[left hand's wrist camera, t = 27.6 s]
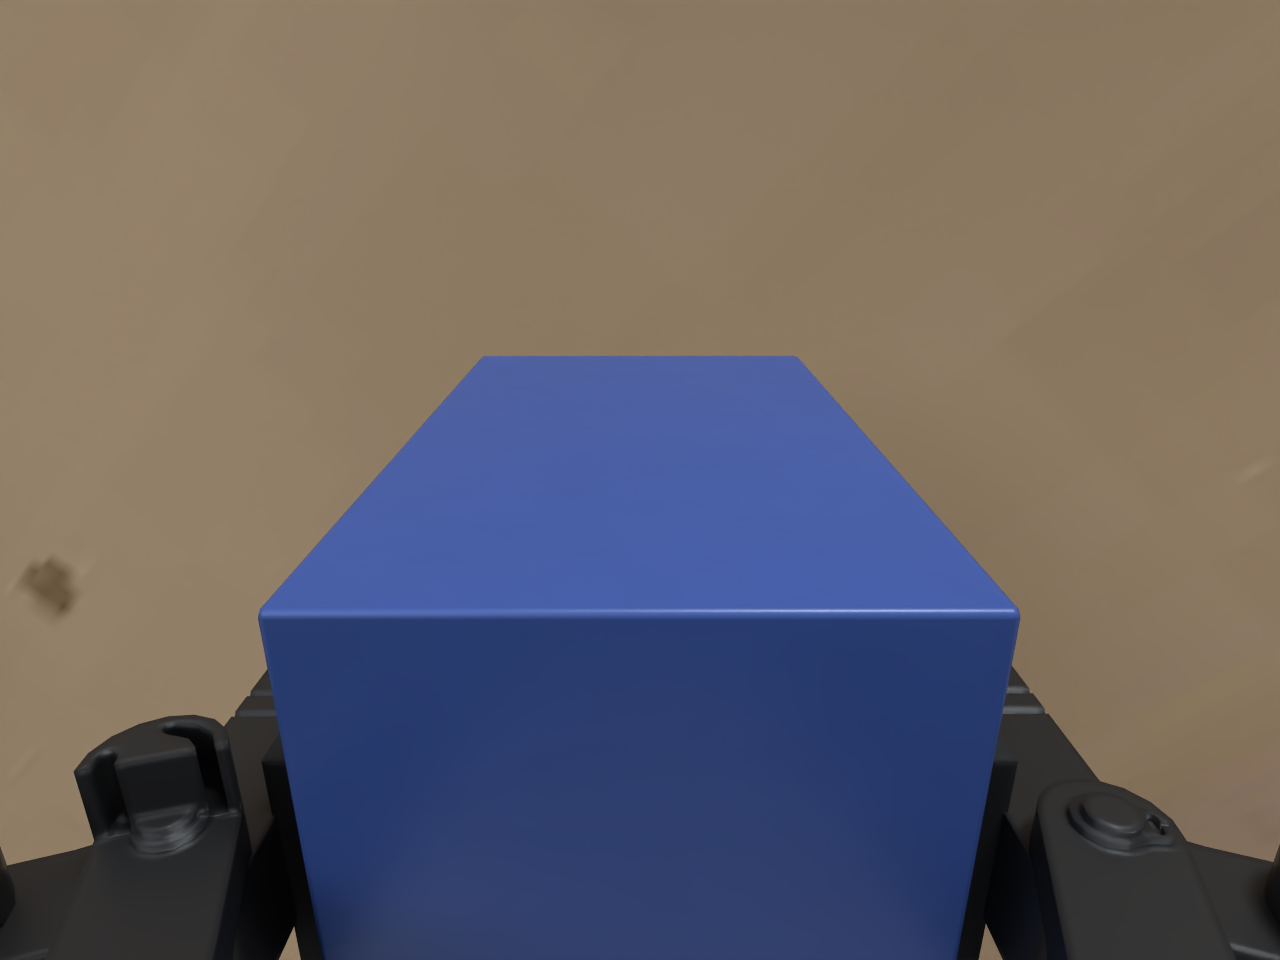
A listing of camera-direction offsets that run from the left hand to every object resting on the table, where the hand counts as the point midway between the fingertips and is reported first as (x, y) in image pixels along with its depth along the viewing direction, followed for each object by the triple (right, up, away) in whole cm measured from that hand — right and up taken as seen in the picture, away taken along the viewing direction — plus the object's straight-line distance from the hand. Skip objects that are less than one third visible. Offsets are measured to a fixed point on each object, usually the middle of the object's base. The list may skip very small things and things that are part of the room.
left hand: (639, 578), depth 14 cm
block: (0, +1, +2) cm, 2 cm away
